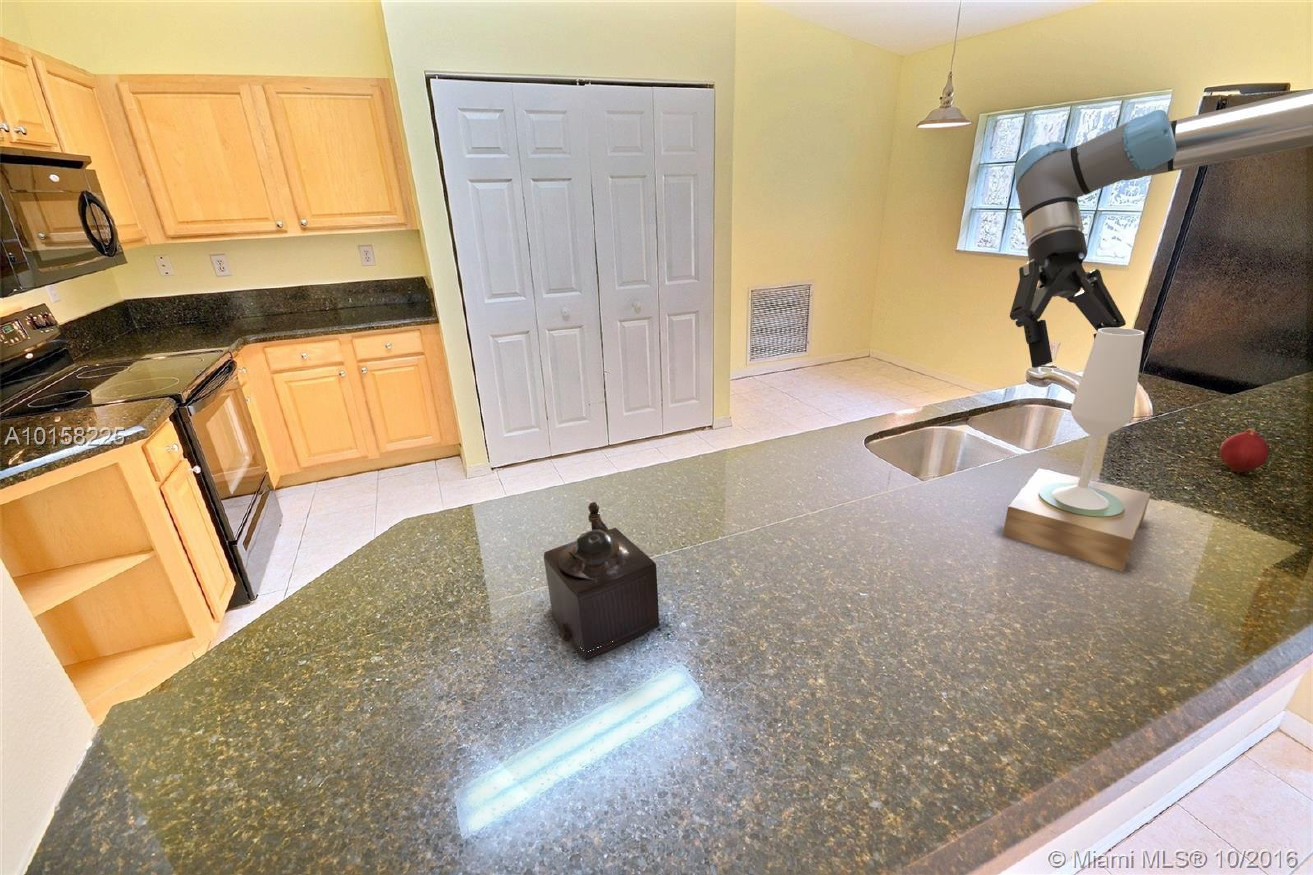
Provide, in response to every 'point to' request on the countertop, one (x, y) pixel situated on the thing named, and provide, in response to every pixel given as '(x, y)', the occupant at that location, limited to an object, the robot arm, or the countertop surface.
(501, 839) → the countertop surface
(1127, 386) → the champagne flute
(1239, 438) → the onion
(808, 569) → the countertop surface
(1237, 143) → the robot arm
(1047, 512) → the wooden display base
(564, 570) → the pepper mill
